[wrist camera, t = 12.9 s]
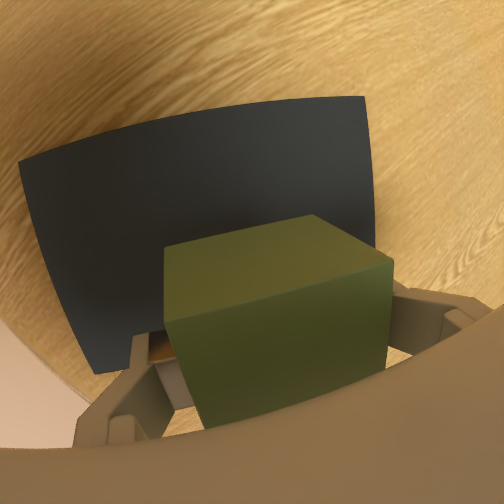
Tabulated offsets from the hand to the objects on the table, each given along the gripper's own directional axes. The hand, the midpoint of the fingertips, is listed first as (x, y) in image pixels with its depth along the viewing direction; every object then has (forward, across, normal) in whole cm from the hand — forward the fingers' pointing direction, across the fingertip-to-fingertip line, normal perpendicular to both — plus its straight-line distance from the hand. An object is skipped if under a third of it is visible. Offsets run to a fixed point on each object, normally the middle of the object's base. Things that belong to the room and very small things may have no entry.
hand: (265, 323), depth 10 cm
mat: (+9, 0, 0) cm, 9 cm away
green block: (+2, 0, 0) cm, 2 cm away
